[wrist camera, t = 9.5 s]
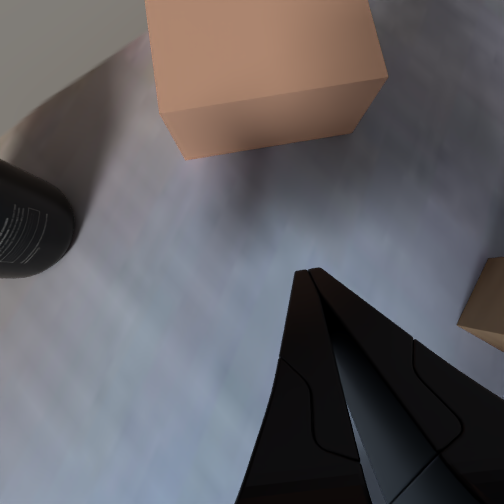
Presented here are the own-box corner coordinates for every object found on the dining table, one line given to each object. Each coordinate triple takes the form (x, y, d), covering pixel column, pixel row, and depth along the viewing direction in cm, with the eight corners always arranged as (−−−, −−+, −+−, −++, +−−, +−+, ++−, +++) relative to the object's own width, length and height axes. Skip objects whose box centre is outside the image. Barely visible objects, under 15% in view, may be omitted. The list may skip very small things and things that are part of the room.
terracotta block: (388, 77, 12) (350, -64, 14) (159, 113, 12) (140, -32, 13) (350, 135, 17) (324, 29, 18) (186, 162, 17) (171, 53, 18)
